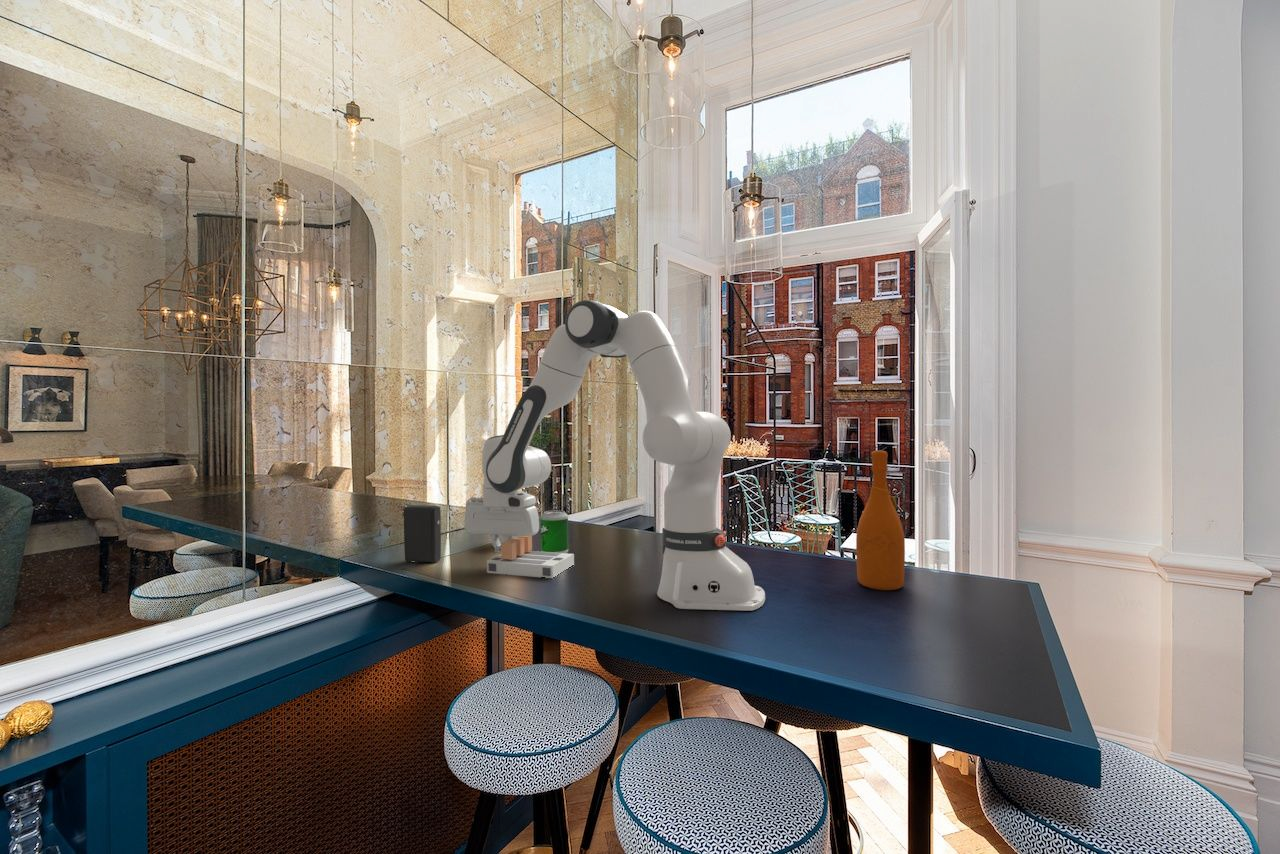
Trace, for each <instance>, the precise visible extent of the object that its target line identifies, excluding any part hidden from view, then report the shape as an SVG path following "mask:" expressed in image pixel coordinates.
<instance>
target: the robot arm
mask: <svg viewBox="0 0 1280 854" xmlns="http://www.w3.org/2000/svg"><path fill="white" fill-rule="evenodd" d="M598 355H600V357H602V358H612V359H613V358H616V359H618V358H627V361H628V363H629V366H630V368H631V370H632V372H633V375H634V378H635V381H636V383H637V385H638V388H639V391H640V392H641V395H642V397H643V401H644V407H645V413H646V424H645V427H644V428H643V430H642V431H643V433H642V444H643V447H644V450H645V452H646V453H647V455H648V456H649V457H650V458H651V459H653V460H654V461H656V462H659V463H663V464H667V465H671V466H674V467H673V472H672V475H671V477H670V481H669V482H668V484H667V485H666V487H665V489H664V492H663V523H664V524H663V525H664V527H662V531H661V550H662V555H663V557H662V558H663V561H662V566H661V567H662V569H661V570H662V571H661V575H660V576H661V577H660V582H659V585H658V589H657V592H656V595H657V597H658V598H659V599H661V600H663V601H665V602H667V603H670V604H671V605H673V606H674V607H675V608H676V609H681V610H711V611H714V610H715V611H716V610H717V611H746V612H747V611H751V612H752V611H755V610H758V609H759V608H760V607H763V605H764V604H765V602H766V592H765V590H764V589H763V588H762V587H761V586H760V585H755V581H754V580H755V579H754V575H753V571H752V569H751V566H749V564H748V562H746V561H745V560H743V559H742V558H741V557H739V555H737V554H736V553H734V552H733V551H732V550H730V549H729V548H728V547H727V531H726V530H724V531H723V530H721V529H720V528H718V527H717V492H718V485H719V483H718V482H719V479H720V473H721V468H722V464H723V459H724V457H725V453H726V451H727V450H728V449H729V445H730V444H731V439H732V435H731V434H732V432H731V430H730V427H729V425H728V423H727V422H726V420H725V419H724V418H722V417H720V416H718V415H716V414H714V413H712V412H709V411H696V410H695V409H694V407H693V404H692V400H691V396H690V388H689V387H690V386H691V382H692V379H691V375H690V373H689V371H688V369H687V367H686V364H685V362H684V360H683V358H682V356H681V353H680V352H679V349H678V347H677V345H676V343H675V341H674V339H673V337H672V336H671V333H670V331H669V330H668V329H667V327H666V326H665V324H664V323H663V321H662V320H661V318H660V317H659V316H658V315H657V314H656V313H654V312H652V311H649V310H641V311H637V312H634V313H632V314H630V315H629V314H626V313H624V312H622V311H621V310H619V309H617V308H616V307H613V306H612V305H609V304H604V303H602V302H600V301H598V300H590V299H586V300H585V299H584V300H579V301H577V302H576V303H574V304H573V305H572V306H571V307H570V308H569V310H568V311H567V313H566V316H565V319H564V324H561V325H559V326H558V327H556V328H555V330H554V331H553V333H552V335H551V337H550V339H549V340H548V343H547V344H546V347H545V349H544V351H543V354H542V357H541V359H540V363H539V364H538V368H537V371H536V373H535V374H534V377H533V379H532V380H531V383H530V384H529V386H528V388H527V389H526V390H524V392H523V394H522V395H521V397H520V399H519V401H518V403H517V405H516V407H515V409H514V411H513V413H512V415H511V419H510V420H509V421H508V425H507V426H506V429H505V432H504V433H503V434H502V435H494V436H491V437H488V438H487V439H486V440H485V441H484V444H483V448H482V459H481V461H482V463H481V464H482V466H481V467H482V468H481V469H482V473H483V483H482V496H481V497H477V496H476V497H475V496H473V497H470V498H468V500H466V502H465V515H464V525H463V526H464V531H465V532H466V533H467V534H475V535H476V534H478V535H489V536H490V535H491V538H490V541H491V540H492V542H493V544H494V545H495V548H494V552H495V553H501V543H500V541H499V539H498V537H500V535H503V539H505V541H510V539H512V536H529V537H530V536H532V537H533V536H535V535H536V536H537V534H538V533H539V530H540V520H539V517H538V513H539V510H538V511H537V509H538V508H537V507H536V506H535V505H536V504H537V498H536V496H535V495H533V494H531V493H528V492H525V491H523V490H521V489H524V488H531V487H534V486H538V485H541V484H543V483H545V482H546V481H547V480H549V478H550V475H551V474H552V469H553V468H552V467H553V465H552V459H551V458H550V456H549V454H548V453H547V452H546V451H545V450H544V449H541V448H538V447H534V446H531V445H530V444H531V442H532V438H533V436H534V435H535V432H536V431H537V428H538V426H539V424H540V422H541V421H543V419H544V418H545V417H546V416H548V415H549V414H550V413H552V412H554V411H555V410H557V409H560V408H562V407H564V406H567V405H568V404H570V403H572V402H573V400H574V399H575V397H576V396H577V395H578V392H579V390H580V388H581V386H582V383H583V381H584V378H585V374H586V371H587V368H588V365H589V363H590V362H591V360H592V359H593V358H594V357H596V356H598ZM533 504H535V505H533ZM505 541H504V542H505Z"/></svg>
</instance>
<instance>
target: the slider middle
mask: <svg viewBox="0 0 1280 854" xmlns="http://www.w3.org/2000/svg"><path fill="white" fill-rule="evenodd" d="M510 541H511V542H516V556H522V555H524V554H525V547H524V538H512V539H510Z"/></svg>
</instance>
